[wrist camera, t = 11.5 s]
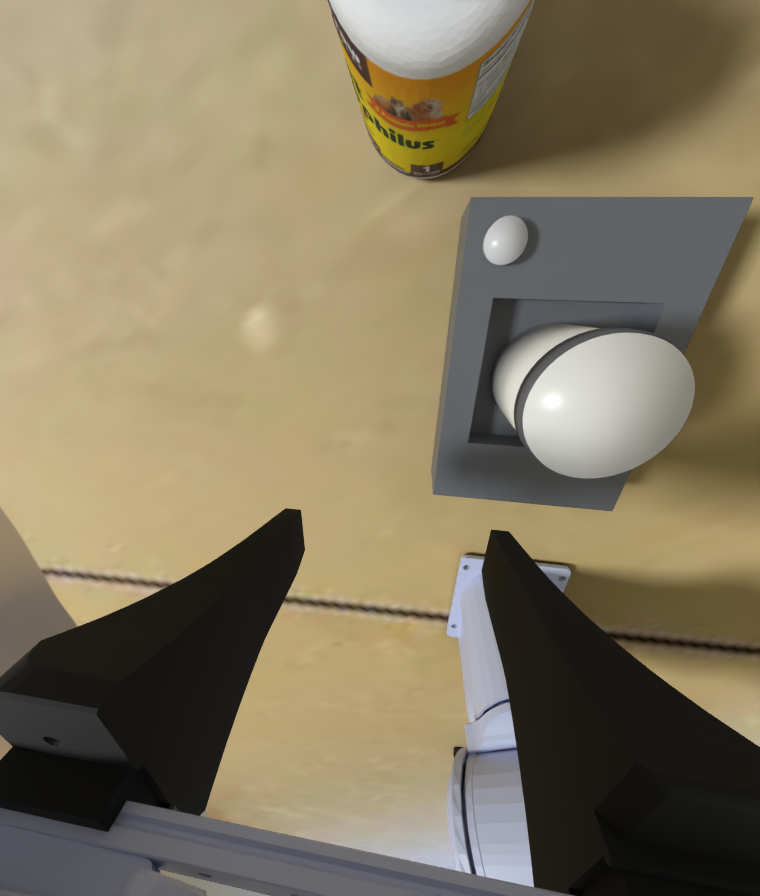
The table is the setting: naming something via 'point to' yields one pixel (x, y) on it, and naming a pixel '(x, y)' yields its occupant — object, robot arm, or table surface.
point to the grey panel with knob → (563, 315)
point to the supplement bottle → (428, 73)
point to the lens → (592, 396)
